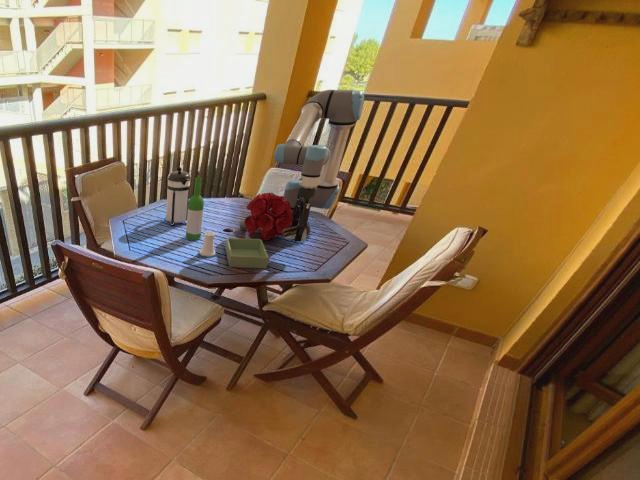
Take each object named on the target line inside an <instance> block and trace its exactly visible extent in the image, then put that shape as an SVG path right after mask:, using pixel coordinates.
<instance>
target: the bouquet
mask: <svg viewBox="0 0 640 480" xmlns="http://www.w3.org/2000/svg"><path fill="white" fill-rule="evenodd" d="M269 193H270V192H264V193H258V194H257V195H256V196H255V197H254V198H253V199H251V200H250V201H249V203H248V204H247V205H246V209H247V210H249V211H250V214H249V215H248V216H246V217H245V218H244V219H242V220H240V221H239V224H238V226H239V228H240V230H243V231H244V230H246V231H247V232H248V234H249V235H252V234H254V233H256V232H257V231H258V229H259V230H261V231H260V235H261V236H260V239H261V240H262V242H264V241H269V240H271V239H272V238H275V237H279V236H281V237H284V234H283V233H282V231H283V229H286V228H290V225H291V223H292V220H293V218H292V217H293V216H292V212H291V207H290V203H289V201H287V200H285V201H283V200H284V199H285V197H283V196H284V195H277V194H275V195H273V194H274V193H273V194H269Z"/></svg>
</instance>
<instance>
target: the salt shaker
mask: <svg viewBox="0 0 640 480" xmlns="http://www.w3.org/2000/svg"><path fill="white" fill-rule="evenodd" d="M203 234H204V238H203V243H202V246H201V249H200V250H199V255H201V256H202V257H207V258H209V257H214V256H215V255H216V250H215V247H214V240H215V235H216V233H215V232H213V231H205V232H204V233H203Z"/></svg>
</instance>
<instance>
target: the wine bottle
mask: <svg viewBox="0 0 640 480" xmlns="http://www.w3.org/2000/svg"><path fill="white" fill-rule="evenodd" d="M201 188H202V178H201V177H195V179H194V189H193V195H192V196H191V197H189V203H188V214H187V220H186V223H187V225H186V227H185V237H186V238H187V240H190V241H198V240H200V238H201V237H202V236H201V235H202V227H203V216H204V206H205V201H204V198H203V197H202V196H201Z"/></svg>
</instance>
